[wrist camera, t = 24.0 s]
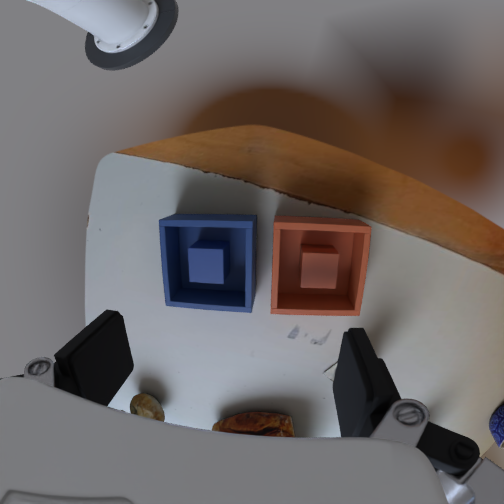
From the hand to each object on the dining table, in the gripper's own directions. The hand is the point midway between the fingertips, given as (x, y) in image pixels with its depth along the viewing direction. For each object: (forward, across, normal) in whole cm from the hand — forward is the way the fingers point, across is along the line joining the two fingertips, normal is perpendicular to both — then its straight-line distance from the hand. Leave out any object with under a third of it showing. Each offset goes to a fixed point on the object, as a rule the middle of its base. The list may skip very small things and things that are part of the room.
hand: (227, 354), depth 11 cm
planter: (+28, -70, +48) cm, 90 cm away
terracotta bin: (+28, -7, +4) cm, 29 cm away
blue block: (+28, +7, +4) cm, 29 cm away
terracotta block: (+28, -7, +4) cm, 29 cm away
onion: (+28, +22, +36) cm, 51 cm away
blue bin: (+28, +7, +4) cm, 29 cm away
